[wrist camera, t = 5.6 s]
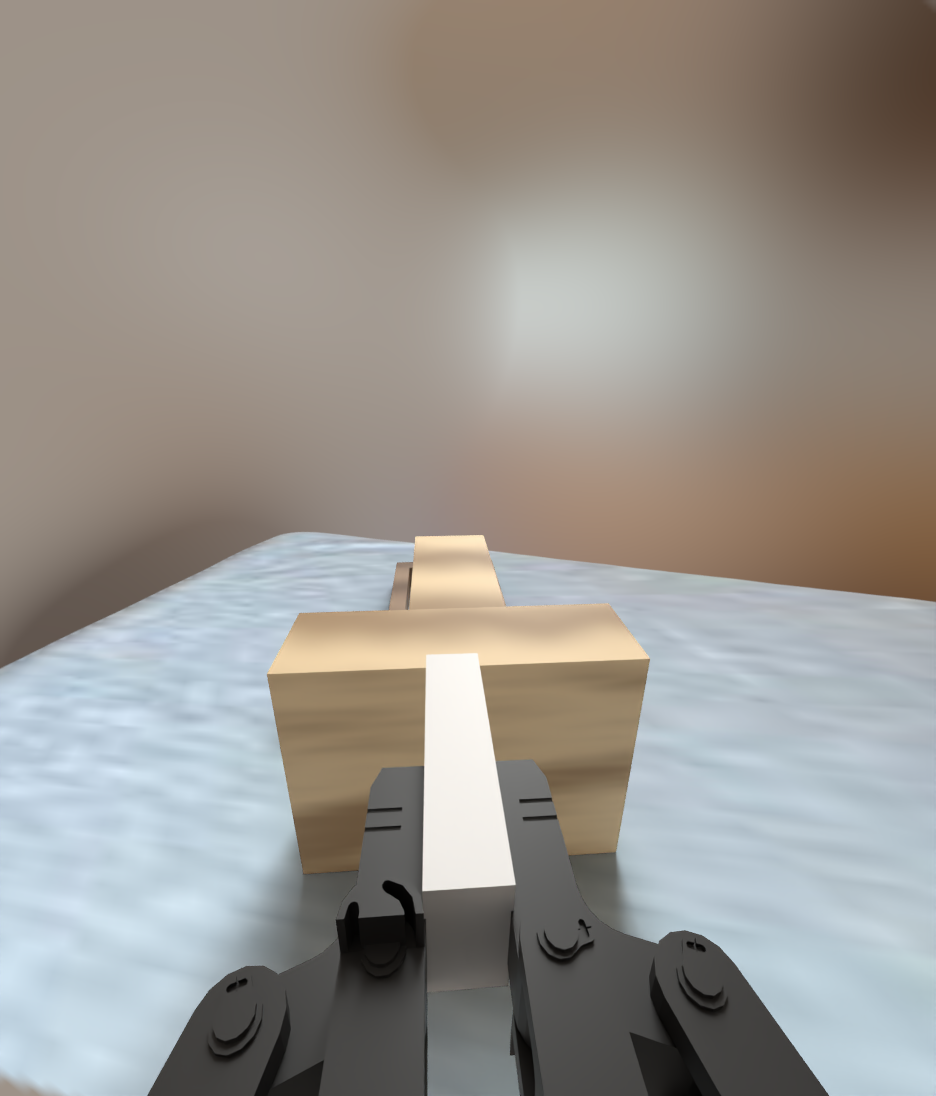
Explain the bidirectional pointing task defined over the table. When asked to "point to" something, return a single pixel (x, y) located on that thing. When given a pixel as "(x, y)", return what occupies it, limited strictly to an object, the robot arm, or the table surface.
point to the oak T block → (509, 687)
